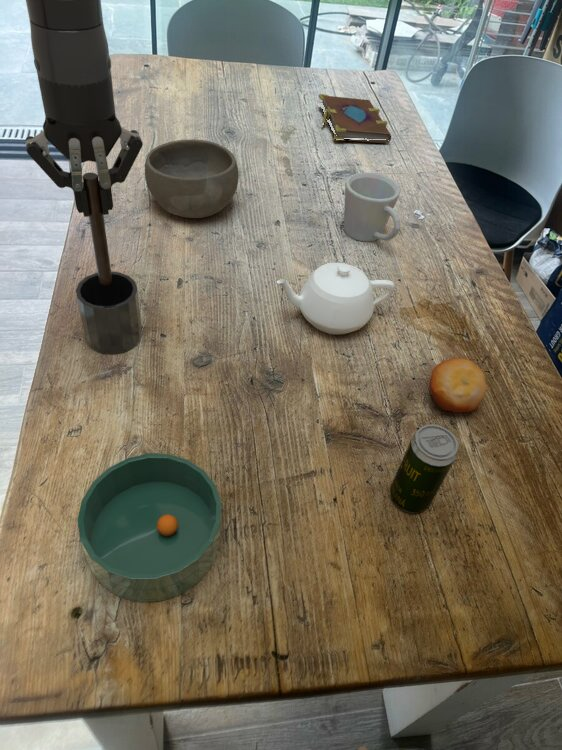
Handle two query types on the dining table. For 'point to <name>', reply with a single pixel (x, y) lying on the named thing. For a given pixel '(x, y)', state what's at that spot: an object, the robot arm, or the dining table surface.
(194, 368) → the dining table surface
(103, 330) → the crock
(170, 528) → the ball
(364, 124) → the book
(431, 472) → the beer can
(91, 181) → the stick
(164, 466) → the mixing bowl
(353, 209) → the mug
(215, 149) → the bowl
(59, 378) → the dining table surface
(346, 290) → the teapot
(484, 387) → the fruit
